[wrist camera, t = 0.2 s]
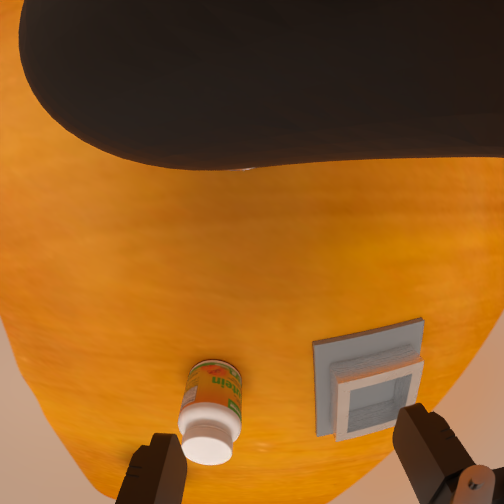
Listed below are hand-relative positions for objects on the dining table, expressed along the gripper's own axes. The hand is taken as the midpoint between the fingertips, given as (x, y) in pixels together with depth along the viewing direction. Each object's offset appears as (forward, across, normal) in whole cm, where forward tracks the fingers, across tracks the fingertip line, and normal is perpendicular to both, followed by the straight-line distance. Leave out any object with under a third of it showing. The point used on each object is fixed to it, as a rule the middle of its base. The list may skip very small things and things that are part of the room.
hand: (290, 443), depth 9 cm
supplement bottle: (+18, +6, +10) cm, 22 cm away
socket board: (+19, -10, +13) cm, 25 cm away
